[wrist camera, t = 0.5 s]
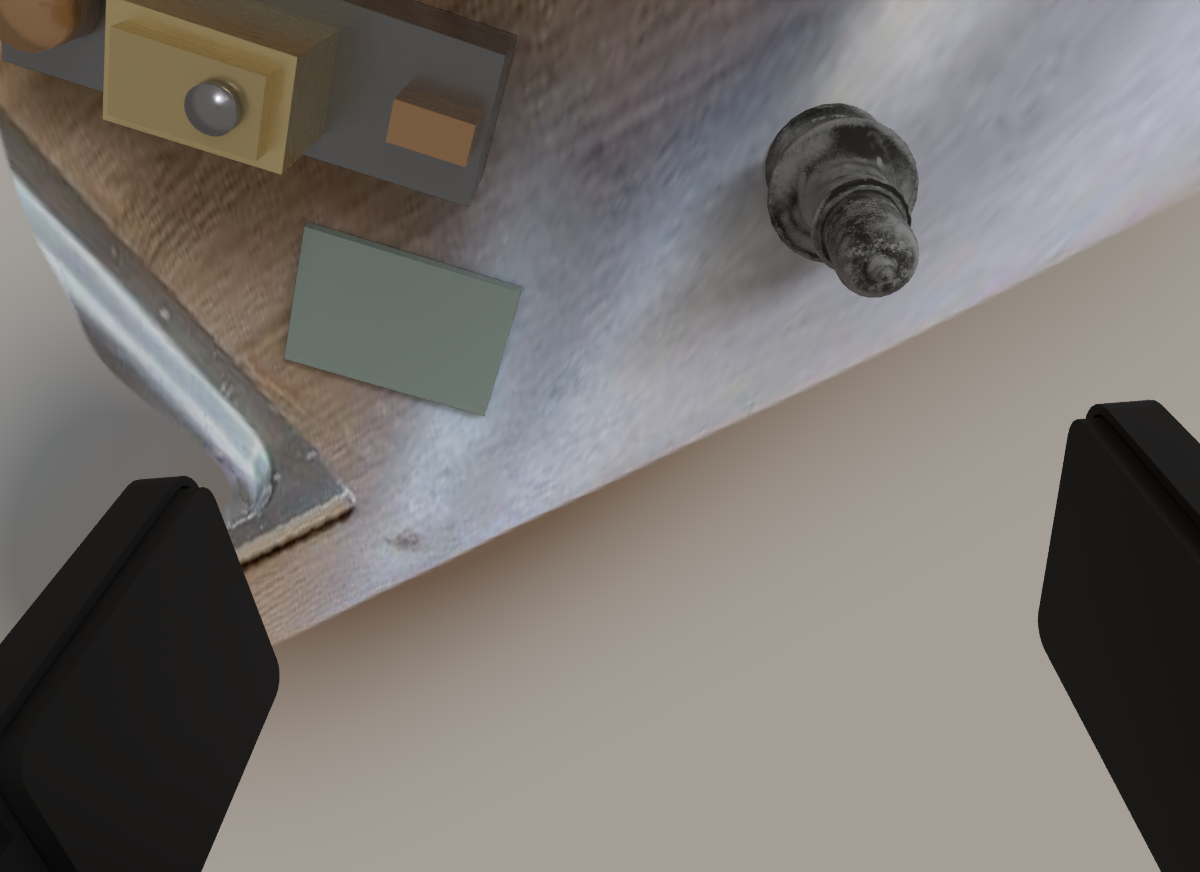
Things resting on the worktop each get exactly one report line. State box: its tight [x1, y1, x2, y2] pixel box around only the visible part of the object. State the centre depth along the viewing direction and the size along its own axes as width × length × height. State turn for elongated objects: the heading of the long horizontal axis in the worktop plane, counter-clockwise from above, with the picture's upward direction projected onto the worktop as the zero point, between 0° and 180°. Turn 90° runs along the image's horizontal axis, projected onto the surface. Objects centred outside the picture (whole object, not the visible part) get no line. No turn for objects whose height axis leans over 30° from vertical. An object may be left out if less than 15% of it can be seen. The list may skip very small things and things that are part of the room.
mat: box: [284, 222, 522, 416], centre depth 45 cm, size 7×10×1 cm
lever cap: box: [103, 0, 339, 175], centre depth 33 cm, size 4×6×7 cm, turn 72°
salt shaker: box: [766, 104, 919, 297], centre depth 36 cm, size 6×6×12 cm
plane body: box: [0, 0, 518, 207], centre depth 36 cm, size 6×18×6 cm, turn 72°
